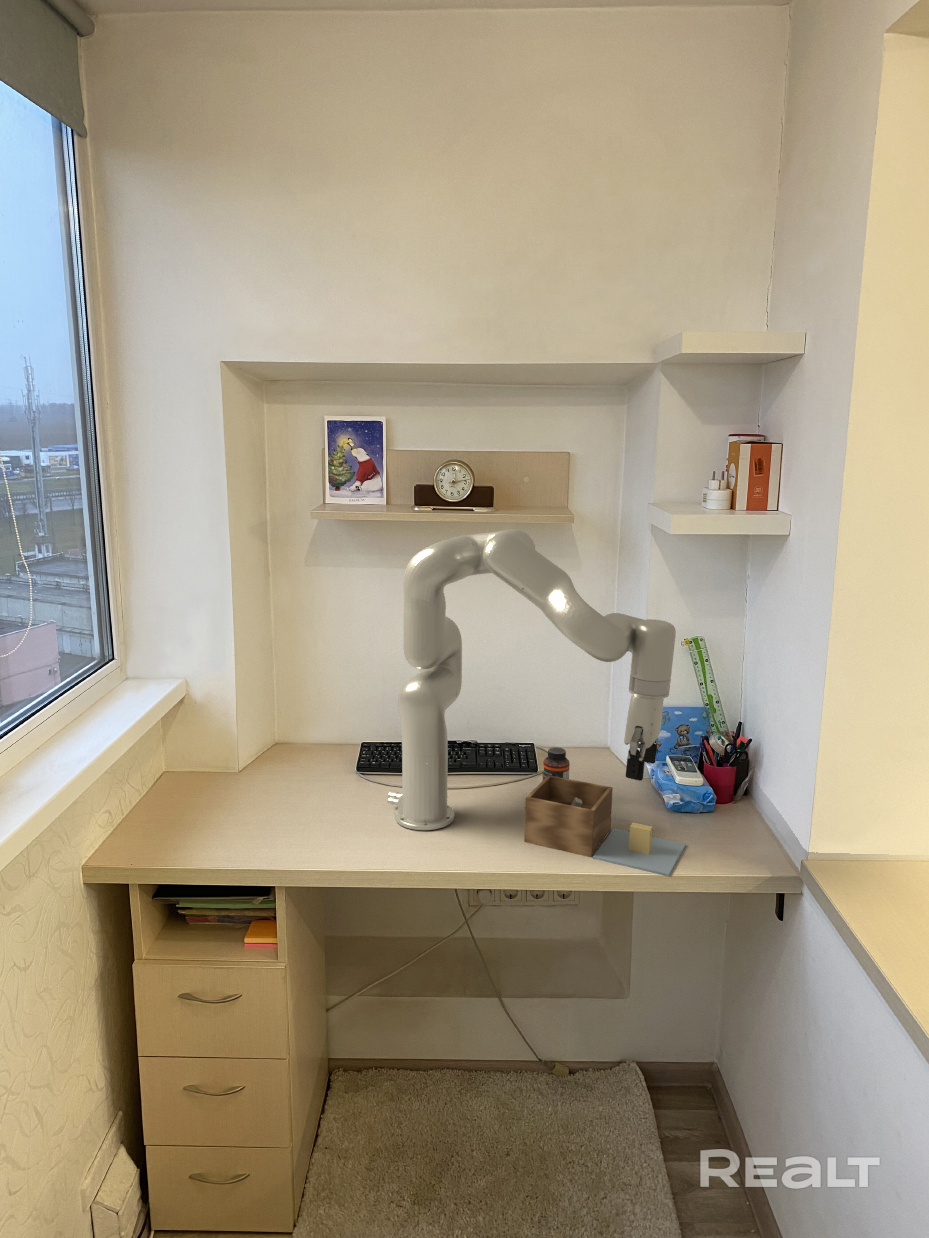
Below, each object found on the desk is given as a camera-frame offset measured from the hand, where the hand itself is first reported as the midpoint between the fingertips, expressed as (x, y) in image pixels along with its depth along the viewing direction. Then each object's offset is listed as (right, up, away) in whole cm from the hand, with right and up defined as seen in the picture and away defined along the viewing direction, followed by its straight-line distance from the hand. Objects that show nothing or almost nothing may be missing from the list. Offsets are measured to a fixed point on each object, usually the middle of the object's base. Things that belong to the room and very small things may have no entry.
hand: (640, 770), depth 166 cm
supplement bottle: (-14, -11, +29) cm, 34 cm away
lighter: (-14, -15, +10) cm, 23 cm away
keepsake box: (-13, -15, +10) cm, 22 cm away
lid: (0, -17, +3) cm, 18 cm away
